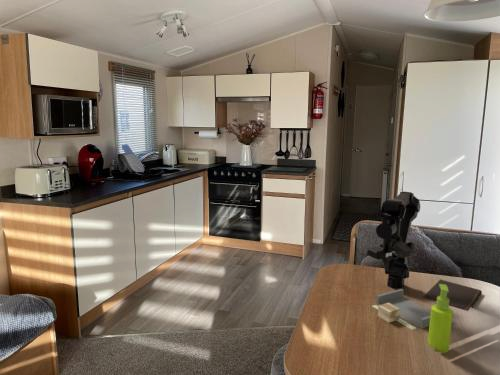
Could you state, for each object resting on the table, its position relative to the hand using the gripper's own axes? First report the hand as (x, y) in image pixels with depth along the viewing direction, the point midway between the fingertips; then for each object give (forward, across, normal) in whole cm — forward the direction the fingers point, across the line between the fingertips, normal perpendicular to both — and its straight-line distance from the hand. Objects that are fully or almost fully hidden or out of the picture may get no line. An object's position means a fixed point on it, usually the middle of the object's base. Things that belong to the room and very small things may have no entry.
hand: (388, 271), depth 146 cm
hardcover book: (+13, +26, -10) cm, 31 cm away
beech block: (+11, -12, -12) cm, 20 cm away
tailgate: (+12, -8, -12) cm, 19 cm away
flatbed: (+12, -1, -12) cm, 17 cm away
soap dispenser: (+12, -10, -30) cm, 34 cm away
